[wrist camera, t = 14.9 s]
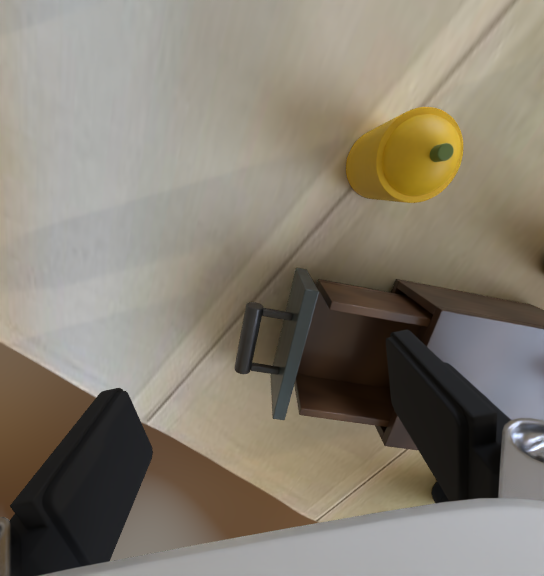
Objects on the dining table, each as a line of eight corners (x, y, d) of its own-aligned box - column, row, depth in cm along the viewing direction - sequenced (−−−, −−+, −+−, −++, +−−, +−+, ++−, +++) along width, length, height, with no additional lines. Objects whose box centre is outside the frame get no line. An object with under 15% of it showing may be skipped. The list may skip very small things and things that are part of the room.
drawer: (233, 370, 34) (226, 412, 27) (253, 259, 30) (251, 279, 23) (394, 394, 36) (423, 439, 29) (434, 293, 31) (479, 320, 25)
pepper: (338, 191, 29) (381, 194, 18) (356, 122, 27) (416, 80, 16) (397, 204, 29) (471, 213, 19) (419, 137, 27) (515, 106, 17)
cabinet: (356, 388, 36) (384, 446, 28) (395, 278, 32) (441, 310, 24) (478, 406, 38) (537, 466, 30) (531, 304, 33) (618, 342, 25)
